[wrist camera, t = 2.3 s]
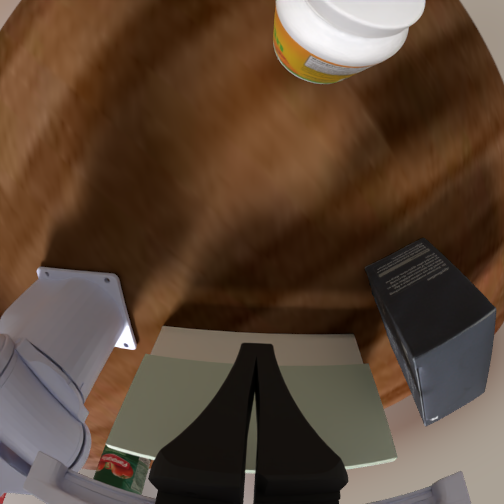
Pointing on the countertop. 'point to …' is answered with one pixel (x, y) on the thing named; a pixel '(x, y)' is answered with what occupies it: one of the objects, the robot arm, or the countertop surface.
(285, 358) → the keepsake box
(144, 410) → the lid
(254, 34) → the countertop surface
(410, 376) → the box
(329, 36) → the supplement bottle
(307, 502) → the robot arm
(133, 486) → the canned tomato
